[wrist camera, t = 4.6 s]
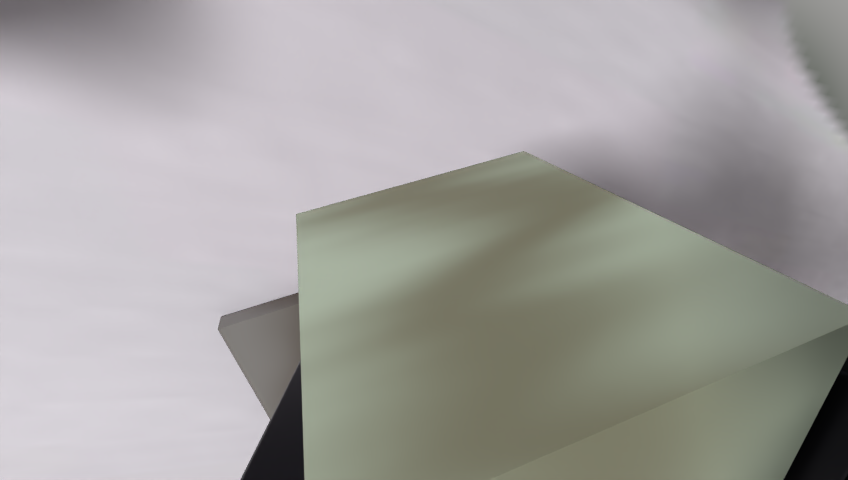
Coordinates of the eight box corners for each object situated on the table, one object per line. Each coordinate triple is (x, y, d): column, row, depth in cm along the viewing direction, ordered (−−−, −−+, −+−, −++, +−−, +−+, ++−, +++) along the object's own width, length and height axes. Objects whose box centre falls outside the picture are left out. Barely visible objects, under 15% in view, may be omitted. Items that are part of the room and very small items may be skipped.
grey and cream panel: (567, 209, 23) (615, 239, 20) (564, 387, 31) (598, 431, 28) (220, 316, 20) (206, 376, 16) (316, 486, 28) (320, 551, 24)
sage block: (523, 151, 9) (868, 314, 3) (531, 322, 11) (740, 565, 6) (296, 214, 8) (305, 560, 3) (359, 384, 10) (429, 731, 5)
